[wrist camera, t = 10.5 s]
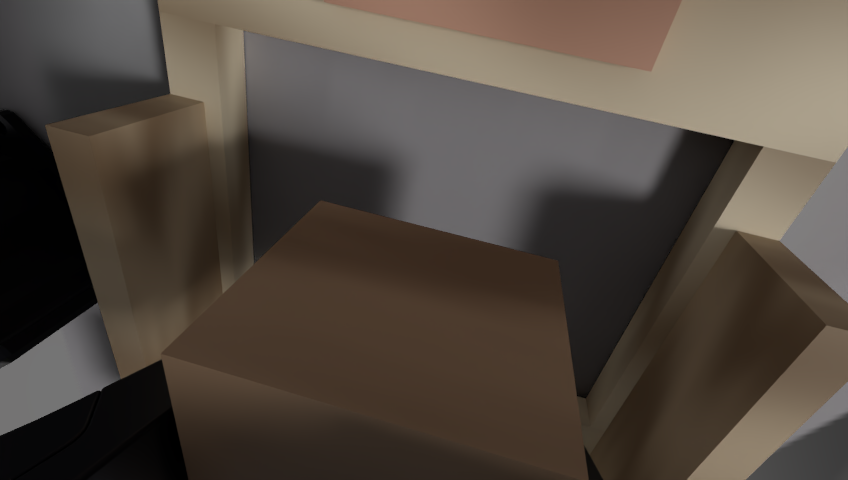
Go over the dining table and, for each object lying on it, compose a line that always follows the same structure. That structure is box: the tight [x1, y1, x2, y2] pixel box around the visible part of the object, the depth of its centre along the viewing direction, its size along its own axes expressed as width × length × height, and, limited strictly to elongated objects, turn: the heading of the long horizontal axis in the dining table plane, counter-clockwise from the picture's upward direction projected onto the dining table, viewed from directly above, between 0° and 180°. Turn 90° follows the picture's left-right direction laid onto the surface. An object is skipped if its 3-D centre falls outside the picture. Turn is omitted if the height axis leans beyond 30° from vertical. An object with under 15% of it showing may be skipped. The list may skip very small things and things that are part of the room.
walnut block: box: [161, 200, 589, 480], centre depth 8 cm, size 5×5×4 cm
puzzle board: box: [45, 0, 848, 480], centre depth 11 cm, size 26×16×5 cm, turn 170°
